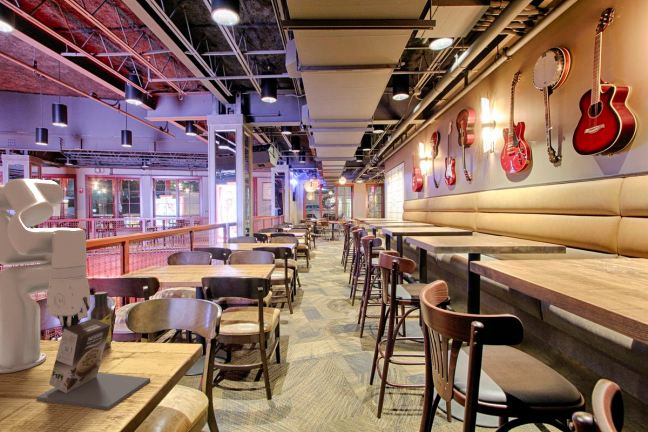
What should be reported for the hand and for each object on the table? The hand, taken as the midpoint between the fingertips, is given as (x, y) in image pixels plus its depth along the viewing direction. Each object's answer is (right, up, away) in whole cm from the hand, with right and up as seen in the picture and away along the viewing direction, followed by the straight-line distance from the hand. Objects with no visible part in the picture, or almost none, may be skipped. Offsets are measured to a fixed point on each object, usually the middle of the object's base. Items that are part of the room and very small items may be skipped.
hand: (70, 338), depth 88 cm
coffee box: (+1, -12, 0) cm, 12 cm away
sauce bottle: (-10, -14, +27) cm, 32 cm away
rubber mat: (+9, -13, -2) cm, 16 cm away
